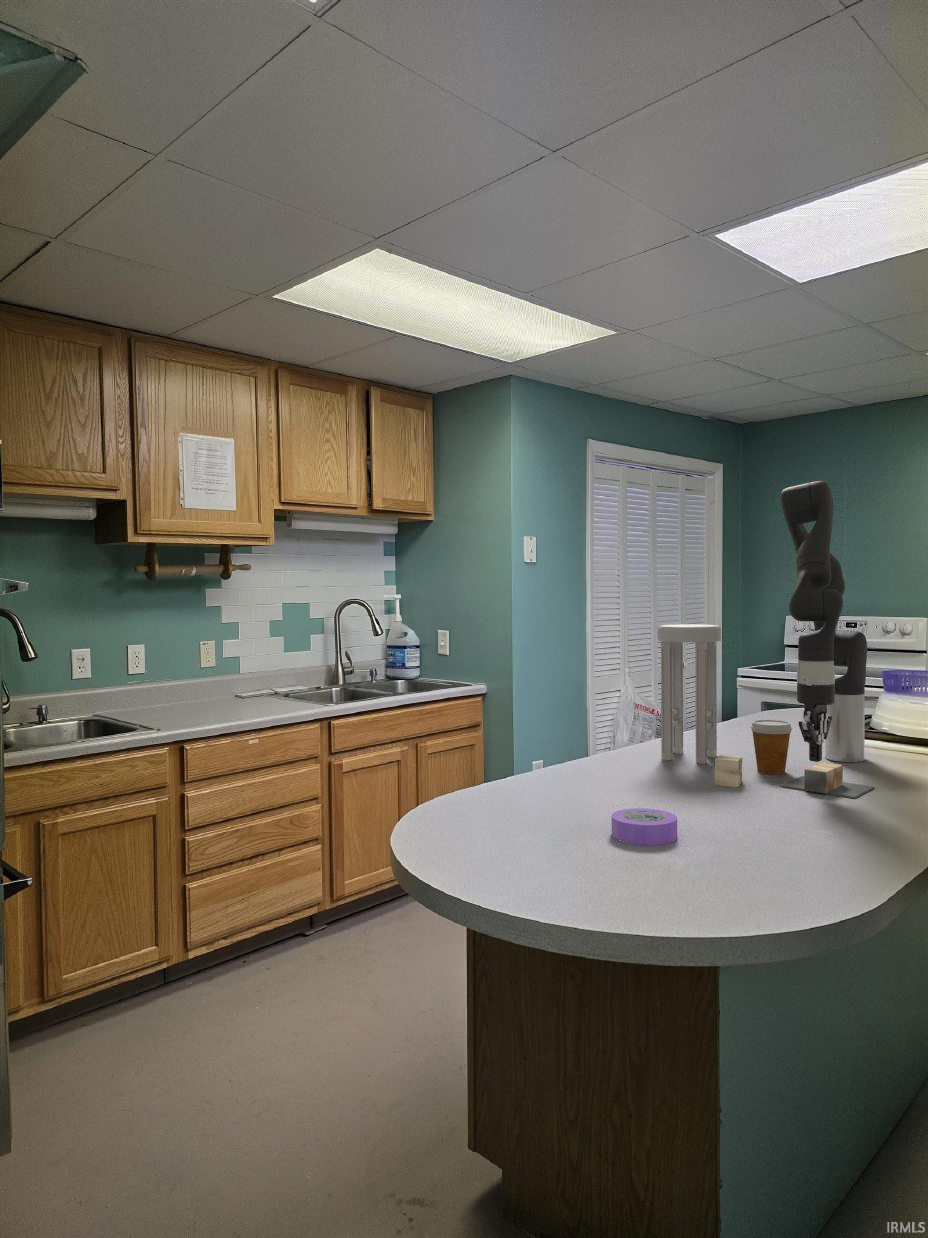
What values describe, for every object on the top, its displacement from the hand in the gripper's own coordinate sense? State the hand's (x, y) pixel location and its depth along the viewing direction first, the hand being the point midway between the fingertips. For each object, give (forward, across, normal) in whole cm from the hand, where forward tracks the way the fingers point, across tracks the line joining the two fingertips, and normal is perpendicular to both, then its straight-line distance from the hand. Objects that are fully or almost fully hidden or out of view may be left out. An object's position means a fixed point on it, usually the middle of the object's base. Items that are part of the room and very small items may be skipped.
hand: (815, 761), depth 177 cm
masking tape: (+8, +51, -11) cm, 53 cm away
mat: (+7, -6, 0) cm, 10 cm away
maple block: (+7, +4, -18) cm, 20 cm away
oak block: (+4, 0, 0) cm, 4 cm away
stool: (+7, -16, -39) cm, 43 cm away
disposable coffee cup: (+7, -14, -16) cm, 22 cm away
